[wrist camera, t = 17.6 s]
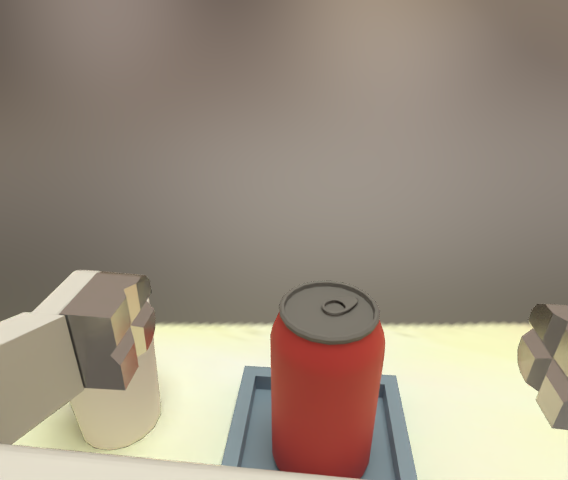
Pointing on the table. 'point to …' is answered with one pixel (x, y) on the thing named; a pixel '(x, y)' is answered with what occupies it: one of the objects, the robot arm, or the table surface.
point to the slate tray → (258, 430)
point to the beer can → (325, 379)
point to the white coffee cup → (121, 408)
